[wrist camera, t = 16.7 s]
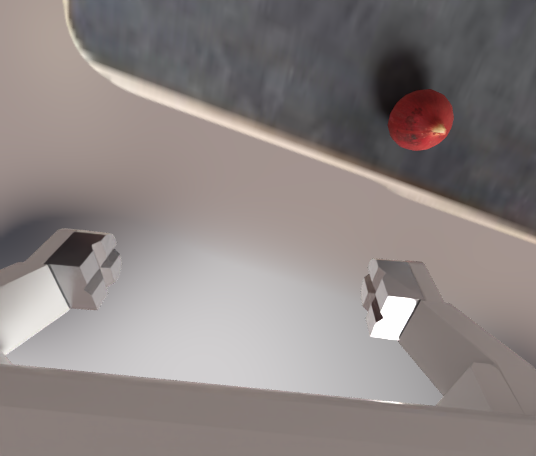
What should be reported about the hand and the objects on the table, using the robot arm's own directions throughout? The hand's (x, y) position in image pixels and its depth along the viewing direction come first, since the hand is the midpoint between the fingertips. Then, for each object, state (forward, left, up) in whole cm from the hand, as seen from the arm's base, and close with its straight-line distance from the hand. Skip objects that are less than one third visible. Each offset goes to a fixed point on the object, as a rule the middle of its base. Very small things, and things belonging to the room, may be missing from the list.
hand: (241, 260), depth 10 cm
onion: (-16, 0, -28) cm, 33 cm away
